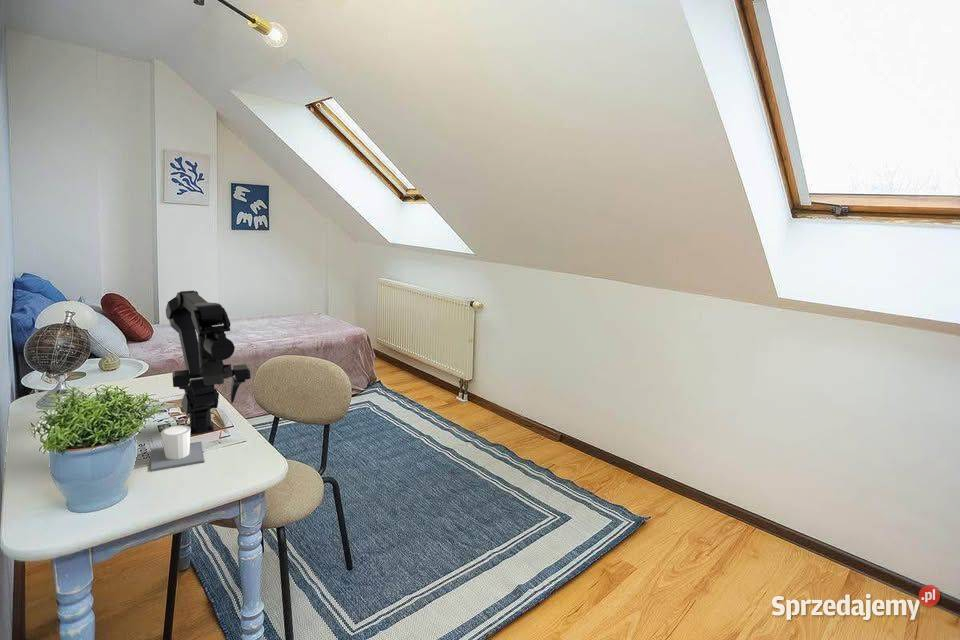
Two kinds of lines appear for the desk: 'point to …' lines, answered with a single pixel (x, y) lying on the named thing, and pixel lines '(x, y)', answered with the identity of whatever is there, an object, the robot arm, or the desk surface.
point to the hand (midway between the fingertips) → (213, 404)
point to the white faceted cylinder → (176, 441)
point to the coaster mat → (163, 463)
